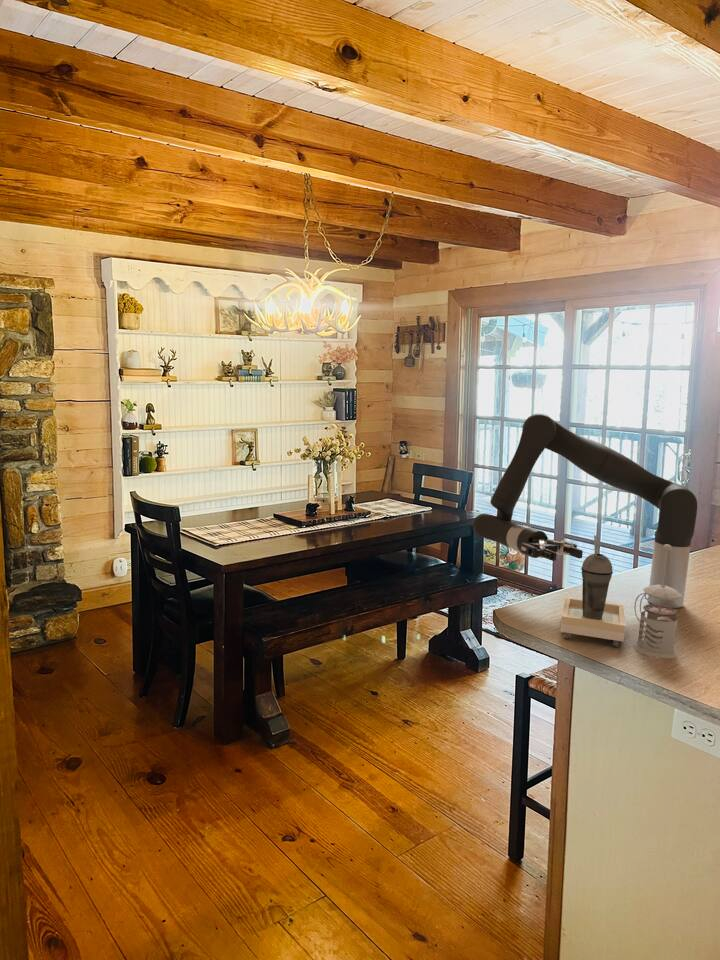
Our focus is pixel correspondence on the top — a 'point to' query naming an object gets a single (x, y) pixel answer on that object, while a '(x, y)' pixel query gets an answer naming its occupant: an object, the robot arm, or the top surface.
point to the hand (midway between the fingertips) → (568, 555)
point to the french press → (658, 622)
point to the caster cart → (593, 621)
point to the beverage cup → (595, 584)
